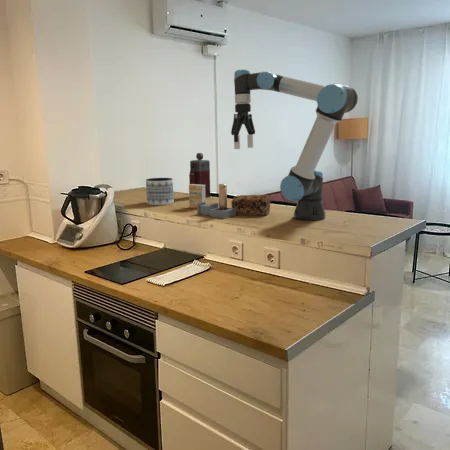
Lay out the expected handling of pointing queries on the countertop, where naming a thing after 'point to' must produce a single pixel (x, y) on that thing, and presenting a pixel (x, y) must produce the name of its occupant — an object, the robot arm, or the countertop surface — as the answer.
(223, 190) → the pipe stub
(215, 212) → the grey ring bracket
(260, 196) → the bread
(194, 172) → the coffee press
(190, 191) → the supplement box
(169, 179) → the planter
